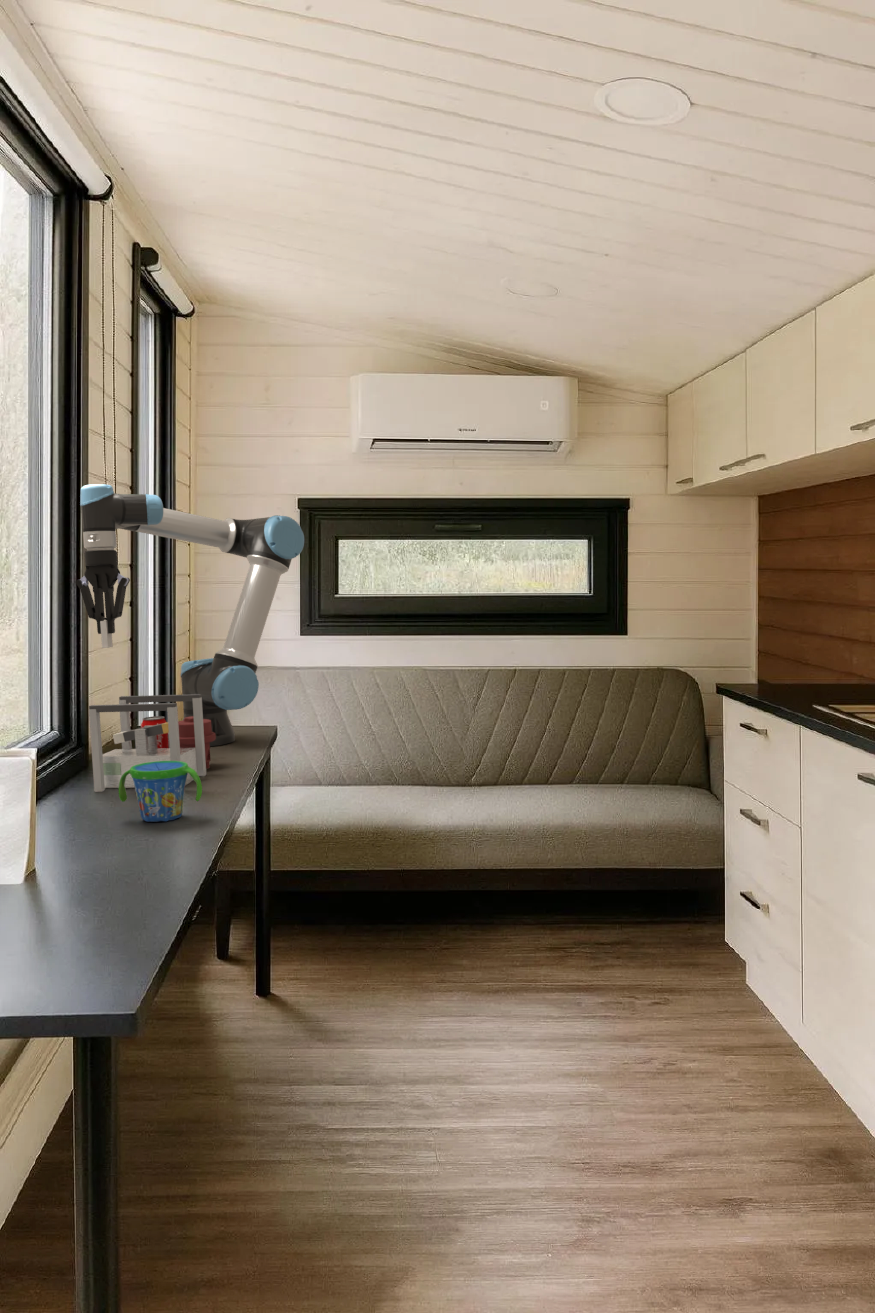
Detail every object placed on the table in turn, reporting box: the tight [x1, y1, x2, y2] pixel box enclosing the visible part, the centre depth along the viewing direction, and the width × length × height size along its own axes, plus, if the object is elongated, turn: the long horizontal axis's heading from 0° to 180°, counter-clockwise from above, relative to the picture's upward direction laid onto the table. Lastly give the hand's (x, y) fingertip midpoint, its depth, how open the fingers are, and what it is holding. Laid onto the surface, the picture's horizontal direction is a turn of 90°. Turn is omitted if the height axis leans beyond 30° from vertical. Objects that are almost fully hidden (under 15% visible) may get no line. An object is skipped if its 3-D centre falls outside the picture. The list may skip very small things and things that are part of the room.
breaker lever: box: [112, 721, 169, 745], centre depth 219 cm, size 3×14×2 cm, turn 83°
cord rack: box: [88, 694, 207, 793], centre depth 220 cm, size 17×19×19 cm
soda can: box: [140, 715, 170, 748], centre depth 239 cm, size 6×6×12 cm
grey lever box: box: [102, 726, 197, 789], centre depth 220 cm, size 9×19×12 cm, turn 84°
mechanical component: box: [178, 716, 216, 770], centre depth 235 cm, size 12×10×10 cm
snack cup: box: [118, 761, 203, 823], centre depth 187 cm, size 16×10×10 cm
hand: (107, 647), depth 240 cm, fingers closed
